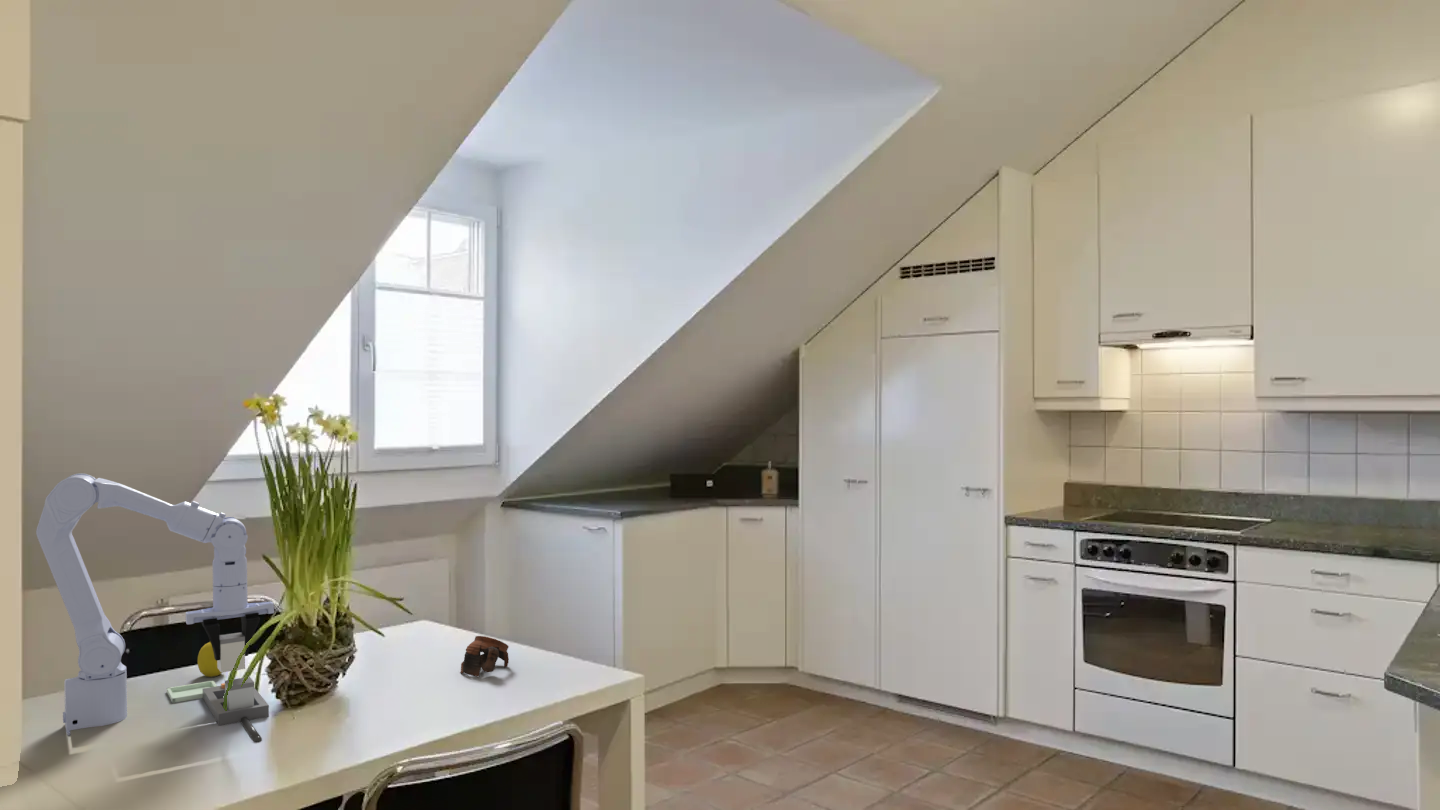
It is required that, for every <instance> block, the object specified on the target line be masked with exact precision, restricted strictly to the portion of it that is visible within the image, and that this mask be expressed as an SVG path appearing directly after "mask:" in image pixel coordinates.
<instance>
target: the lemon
mask: <svg viewBox="0 0 1440 810" xmlns="http://www.w3.org/2000/svg"><path fill="white" fill-rule="evenodd" d="M197 667H198V670H199V672H200V673H201V674H202V675H203V676H205V677H208V678H215V677H218V676H220V675H221V674H223V673H224V672H222V673H221V672H220V671H219V669H218V668H217V660H215V658H214V652H213V648H212V645H211V642H210V641H209V642H207V643H204V645H203V646H202V647H201V648H200V650H199V652H198V655H197Z"/></svg>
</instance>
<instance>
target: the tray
mask: <svg viewBox="0 0 1440 810" xmlns="http://www.w3.org/2000/svg"><path fill="white" fill-rule="evenodd" d="M216 686H218V685H217V684H216V682H215V680H207V681H202V682H201V681H200V682H196V683H191V684H190V683H189V684H184V685H177V686H171V687H167V688H166V694H167V695H168V698H169V699H170V701H171V703H172V704H175V703H180V702H187V701H192V700H198V699H203V689H204V688H210V687H216Z"/></svg>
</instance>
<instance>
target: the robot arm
mask: <svg viewBox="0 0 1440 810" xmlns="http://www.w3.org/2000/svg"><path fill="white" fill-rule="evenodd" d="M96 503H97V507H96V508H97V510H98V509H105V508H106V509H107V508H112V507H120V508H124V509H125V510H129V511H132V512H136V513H139V514H142V515H145V516H148V517H151V518H154V519H157V520H161V521H164V522H165V523H166V526H167V528H168V530H169V531H170V532H172V533H176V534H178V535H181V536H183V537H186V538H189V539H192V540H194V541H197V542H199V543H200V542H201V543H203V544H206V543H211V544H212V546H213V560H212V607H207V608H202V609H198V610H192V611H186V612H185V623H186V625H194V624H195V623H201V625H202V627H203V629H204V632H206V635H207V636H208V639H209V642H211V645H212V648H213V652H214V658H215V660H220V643H219V640H220V635H221V633H220V632H221V625H220V623H219V620H227V619H234V618H240V622H241V633H242V634H243V635H244V636H245V645H246V643H247V642H248V641H249V640H250V639H251V638H252V639H253V637H254V634H255V631H256V630H257V627H258V626H259V624H260V621H261V617H260V615H266V614H268V615H271V614H275V604H274V602H273V601H264V602H251V603H249V602H248V599H249V598H248V558H247V557H246V554H247V547H246V544H247V542H248V538H249V535H248V533H247V528H246V526H245V525H244V523H243V522H242V521H241V520H239V519H237V518H236V517H234V516H227V514H226V513H224V512H220V513H216V512H215V511H212V510H209V509H206V508H204V507H201V506H200V503H199V502H197V501H195V500H192V501H191V502H188V501H182V502H179V503H177V504H171V503H169V502H167V501H165V500H162V499H160V498H157V497H156V496H152V495H150V494H148V493H144V492H142V491H140V490H137V489H134V488H133V487H130V486H127V485H125V484H122V483H119V482H116V481H113V480H109V479H106V478H102V477H98V478H95V476H92V475H90V474H87V473H75V474H72V475H69V476H67V477H66V478H64V479H62V480H61V481H59V482H57V484H56V485H54V488H52V490H51V491H50V492H49V494H48V495H47V496H46V497H45V500H44V505H43V508H42V511H41V515H40V517H39V521H38V524H37V527H36V531H35V533H36V537H37V540H38V542H39V546H40V548H41V550H42V552H43V554H44V558H45V559H46V562H47V565H48V567H49V569H50V572H51V574H52V577H53V580H54V581H55V584H56V587H57V589H58V592H59V595H60V596H61V600H62V601H63V604H64V607H65V609H66V612H67V614H68V617H69V618H70V621H71V623H72V627H73V630H74V635H75V636H74V637H75V642H76V646H77V648H78V651H79V653H78V656H77V664H78V668H79V671H78V673H77V676H75V677H72V678H71V677H70V678H66V679H64V686H63V687H64V711H63V712H62V722H63V724H64V727H65V733H66V736H71V731H74V730H79V729H85V728H93V727H103V726H107V725H112V724H116V723H118V722H121V721H123V720H126V718H127V717H128V690H127V689H128V685H127V683H128V679H127V677H128V675H127V666H126V665H125V664H123V663H122V656H123V654H124V653H125V650H126V642H125V639H124V638H123V636H122V635H121V634H120V633H119V632H117V631H116V630H115V629H114V627H113V626H112V623H111V621H110V620H109V618H108V617H107V616H106V613H105V612H104V609H103V607H102V604H101V603H100V600H99V598H98V595H97V592H96V590H95V588H94V585H93V582H92V579H91V577H90V575H89V572H88V569H87V566H86V564H85V562H84V560H83V557H82V555H81V552H80V550H79V548H78V545H77V543H76V540H75V537H74V536H73V530H74V529H75V528H76V526H77V525H78V523H79V521H80V520H81V517H82V516H83V515H84V514H85V513H86V512H87V511H88V510H89V509H90V508H92V507H93V506H94V505H95V504H96ZM250 645H251V644H250ZM250 645H249V647H248V648H247V650H246V652H245V657H247V656H249V651H250V647H251V646H250ZM74 721H75V722H76V721H77V722H76V723H73V722H74Z"/></svg>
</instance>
